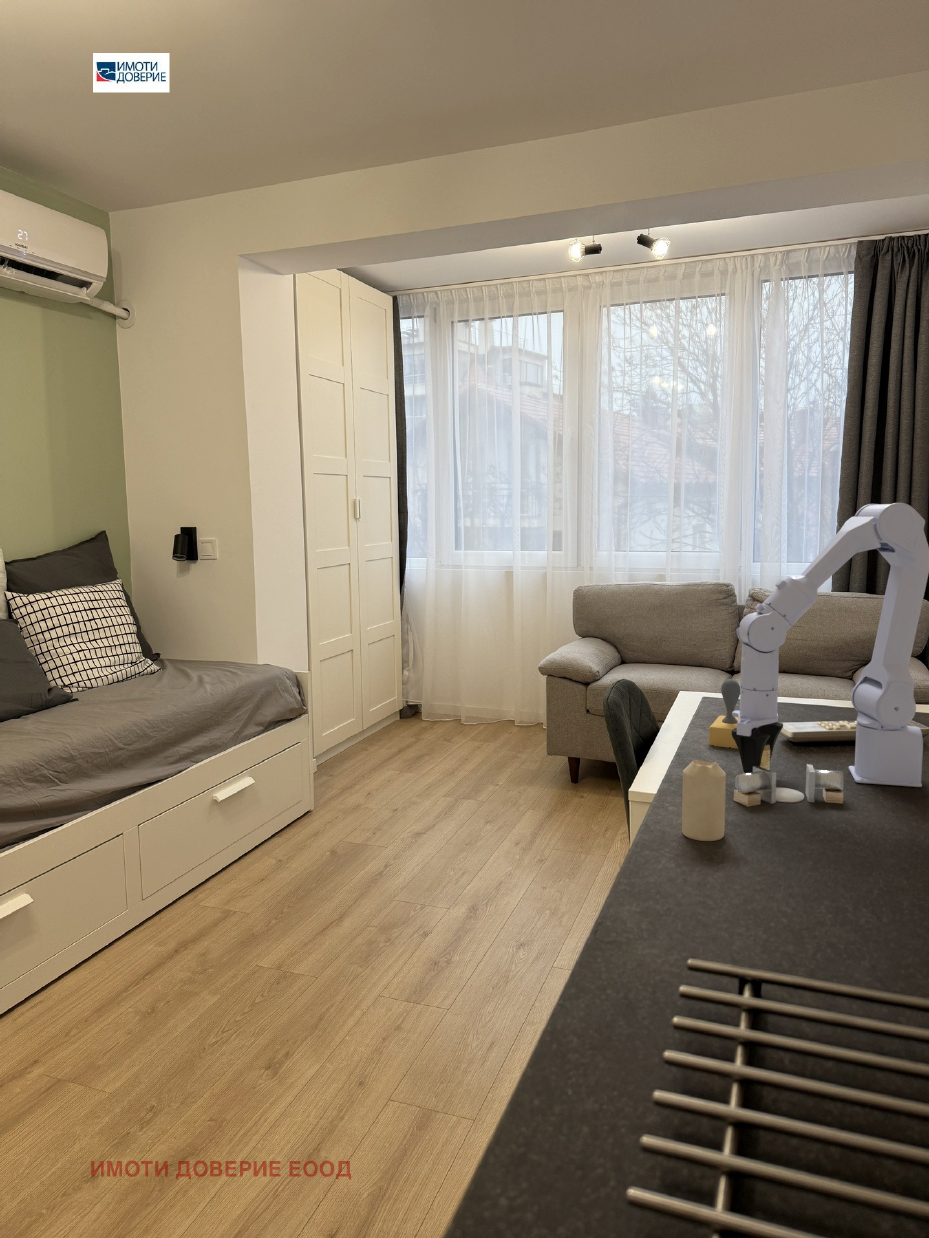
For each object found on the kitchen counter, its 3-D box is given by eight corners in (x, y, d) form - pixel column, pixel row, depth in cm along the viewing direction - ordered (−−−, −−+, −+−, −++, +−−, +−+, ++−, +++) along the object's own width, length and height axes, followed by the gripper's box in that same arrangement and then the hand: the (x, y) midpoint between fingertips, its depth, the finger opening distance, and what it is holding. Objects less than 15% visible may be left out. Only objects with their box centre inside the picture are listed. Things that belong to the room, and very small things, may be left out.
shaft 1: (756, 794, 127) (757, 765, 126) (775, 802, 123) (776, 772, 123) (731, 799, 125) (732, 769, 124) (750, 807, 121) (751, 777, 121)
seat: (802, 791, 128) (802, 789, 128) (806, 803, 123) (806, 801, 123) (761, 787, 130) (761, 786, 130) (763, 800, 124) (763, 798, 124)
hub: (768, 775, 136) (769, 741, 136) (769, 783, 133) (771, 747, 132) (742, 773, 137) (743, 739, 137) (743, 781, 134) (744, 746, 133)
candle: (726, 829, 113) (728, 758, 112) (721, 844, 108) (723, 769, 107) (685, 823, 115) (687, 754, 114) (678, 837, 110) (679, 764, 109)
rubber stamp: (740, 749, 152) (742, 685, 151) (708, 745, 155) (710, 682, 153) (749, 736, 161) (750, 675, 160) (718, 733, 164) (720, 673, 162)
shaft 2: (808, 801, 124) (809, 771, 123) (805, 793, 127) (806, 764, 127) (843, 804, 122) (844, 774, 122) (839, 795, 126) (840, 766, 125)
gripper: (748, 677, 141) (746, 755, 143) (718, 692, 130) (716, 776, 131) (791, 682, 137) (788, 762, 139) (764, 697, 126) (761, 784, 127)
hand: (756, 769), depth 135 cm, fingers open, 5 cm apart
